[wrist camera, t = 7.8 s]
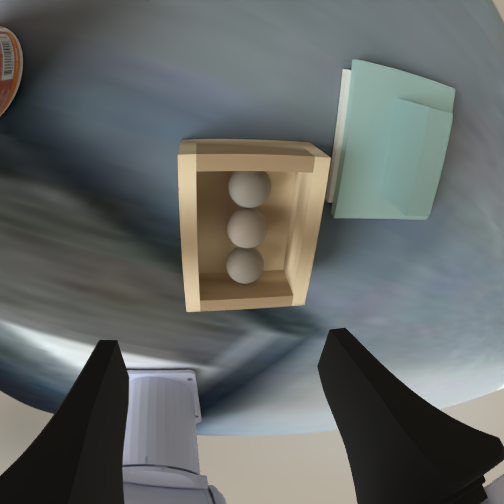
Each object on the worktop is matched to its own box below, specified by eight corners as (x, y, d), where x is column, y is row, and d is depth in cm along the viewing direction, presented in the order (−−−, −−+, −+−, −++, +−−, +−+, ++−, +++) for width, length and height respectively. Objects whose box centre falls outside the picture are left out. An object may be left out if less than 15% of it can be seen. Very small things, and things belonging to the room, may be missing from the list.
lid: (421, 215, 20) (451, 241, 17) (330, 213, 19) (354, 244, 16) (449, 87, 15) (488, 98, 12) (352, 59, 14) (387, 60, 11)
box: (291, 273, 22) (304, 304, 19) (186, 278, 21) (186, 311, 18) (309, 142, 17) (330, 157, 14) (181, 139, 16) (178, 154, 13)
